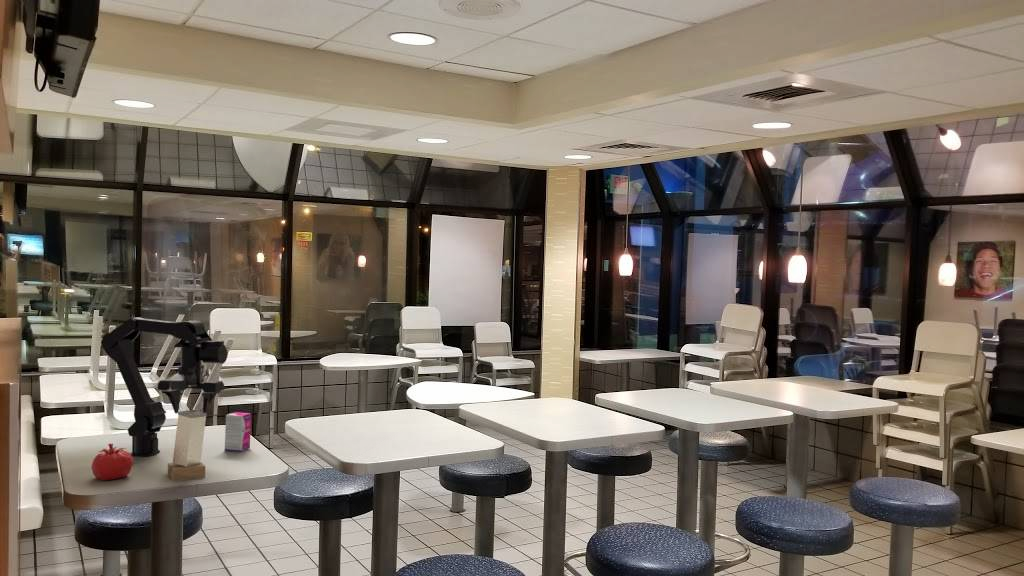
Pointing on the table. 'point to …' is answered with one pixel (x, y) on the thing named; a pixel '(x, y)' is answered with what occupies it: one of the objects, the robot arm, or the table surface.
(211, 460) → the table surface
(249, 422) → the supplement box
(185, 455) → the white tall block
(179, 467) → the walnut block
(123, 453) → the red tomato
